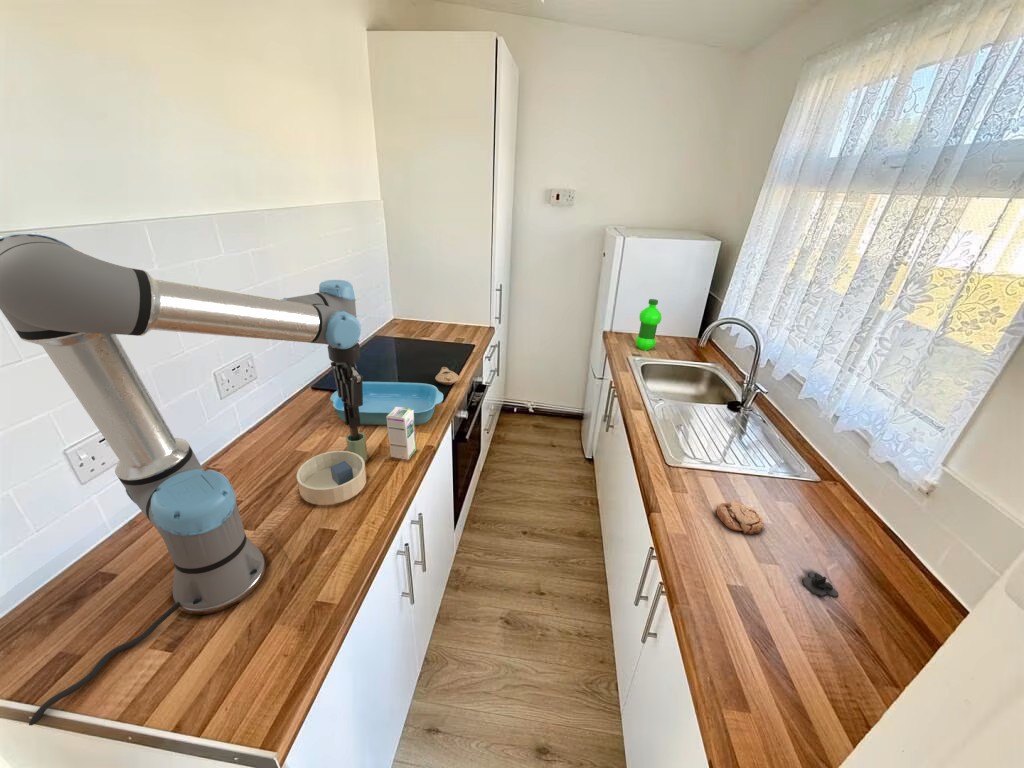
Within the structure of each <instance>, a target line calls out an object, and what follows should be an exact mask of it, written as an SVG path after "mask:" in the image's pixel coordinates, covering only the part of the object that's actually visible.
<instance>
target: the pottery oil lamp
mask: <svg viewBox="0 0 1024 768" xmlns="http://www.w3.org/2000/svg"><path fill="white" fill-rule="evenodd" d="M434 378H435V381H436V382H437V383H439V384H441V385H445V386H451V385H452V384H454V383H456V382H458V381H459V379H460V376H459V375H458V373H456V372H454V371H453V370H450V369H449V368H448V367H447V366H443V367H441V368H440V370H439V372H438V373H437V375H436V376H435V377H434Z"/></svg>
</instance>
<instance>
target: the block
mask: <svg viewBox="0 0 1024 768" xmlns="http://www.w3.org/2000/svg"><path fill="white" fill-rule="evenodd" d="M330 468H331V474H332V479H333V480H334V481H335V482H336V483H337V484H338V485H342V484H344V483H346V482H349V481H350V480H352V479H353V471H352V467H351V466H350V465H349V464H348V463H347V462H346V461H343V462H341V463H338V464H336V465H333V466H331V467H330Z"/></svg>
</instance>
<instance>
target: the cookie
mask: <svg viewBox="0 0 1024 768" xmlns="http://www.w3.org/2000/svg"><path fill="white" fill-rule="evenodd" d="M716 515H717V517H718V518H719V520H720V521H721V522H722V524H724V526H726V528H728V529H731V530H733V531H736V532H737V531H738V532H742V533H743V534H747V535H754V534H760V533H761V531H762V530H763V528H764V521H763V519H762V517H761V516H760V514H759V513H758V512H757V510H755V509H754V508H751V507H749V506H747V505H745V504H742V503H741V502H740V501H737V500H732V501H727V502H722V503H720V504H718V505H717V508H716Z"/></svg>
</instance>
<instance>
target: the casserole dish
mask: <svg viewBox="0 0 1024 768" xmlns="http://www.w3.org/2000/svg"><path fill="white" fill-rule="evenodd" d="M362 386H363V405H362V406H359V415H360V424H361V425H366V426H367V425H371V426H387V419H386V416H387V415H388V414H389V413H390V412H391V411H392V410H393V409H394V408H395V407H404V408H410V409H413V411H414V424H415V426H421V425H424V424H426V423H428V422H429V421H430V420H431V418H432V417H433V415H434V412H435V408H436V406H437V405H441V403H443V401H444V394H443V392H441V391H440V390H439V389H438V387H437V386H435V385H433V384H429V383H422V382H397V381H396V382H395V381H363V382H362ZM329 400H330V402H331V403H332V406H333V409H334V411H335V412H336V414H337V416H338V417H339V418H340V420H341V421H343V422H345V423H346V421H345V413H344V405H343V403H344V402H342V400H341V398H339V397H338V392H337V390H336V391H334V392H332V394H331V395H330V398H329Z"/></svg>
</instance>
